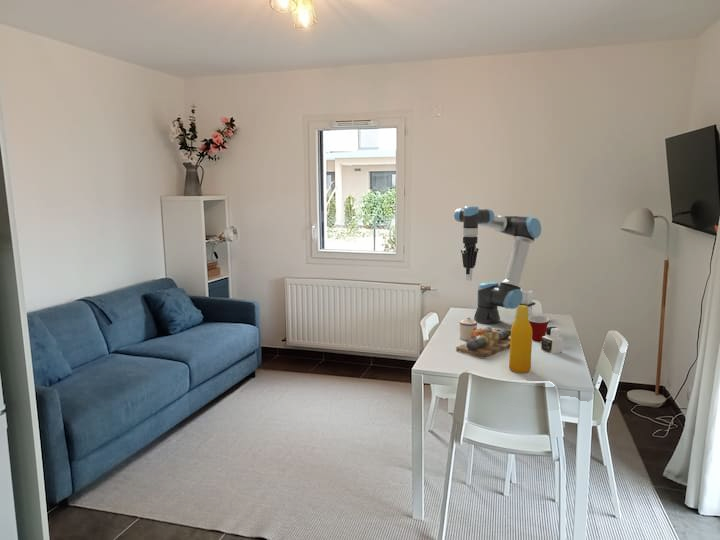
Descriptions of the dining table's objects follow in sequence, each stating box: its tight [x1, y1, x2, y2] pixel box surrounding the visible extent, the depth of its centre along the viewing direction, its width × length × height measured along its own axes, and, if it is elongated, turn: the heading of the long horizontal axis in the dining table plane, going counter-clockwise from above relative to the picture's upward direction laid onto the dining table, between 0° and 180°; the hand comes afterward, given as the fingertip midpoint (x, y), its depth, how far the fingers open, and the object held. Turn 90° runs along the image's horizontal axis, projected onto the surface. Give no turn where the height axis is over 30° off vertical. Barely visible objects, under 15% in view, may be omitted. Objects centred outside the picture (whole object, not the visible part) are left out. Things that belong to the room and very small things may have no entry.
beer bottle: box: [508, 305, 533, 374], centre depth 242 cm, size 9×9×29 cm
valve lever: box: [472, 326, 493, 337], centre depth 271 cm, size 14×3×2 cm, turn 133°
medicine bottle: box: [540, 326, 564, 355], centre depth 269 cm, size 7×7×12 cm
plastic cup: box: [528, 315, 550, 343], centre depth 287 cm, size 11×11×12 cm
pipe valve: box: [455, 328, 511, 359], centre depth 276 cm, size 32×16×9 cm, turn 134°
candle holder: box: [515, 288, 536, 318], centre depth 338 cm, size 25×24×16 cm
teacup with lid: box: [459, 316, 478, 342], centre depth 292 cm, size 12×9×12 cm
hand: (468, 280), depth 292 cm, fingers closed
